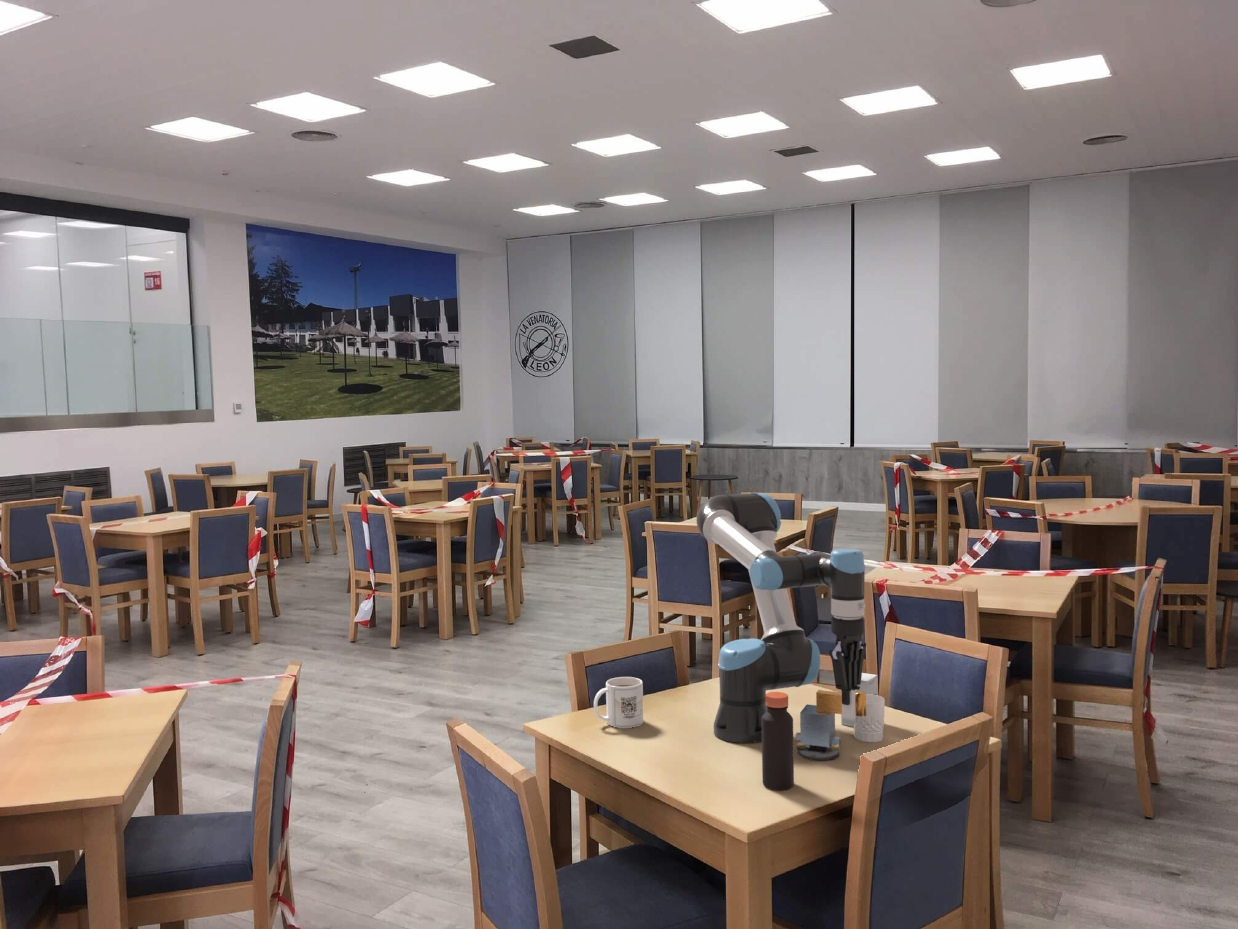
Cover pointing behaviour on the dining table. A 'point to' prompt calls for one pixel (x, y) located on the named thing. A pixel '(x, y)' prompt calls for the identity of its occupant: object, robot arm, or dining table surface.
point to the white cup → (871, 720)
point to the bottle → (777, 743)
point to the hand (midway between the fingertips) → (848, 717)
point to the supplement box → (867, 686)
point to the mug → (622, 702)
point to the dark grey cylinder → (818, 752)
